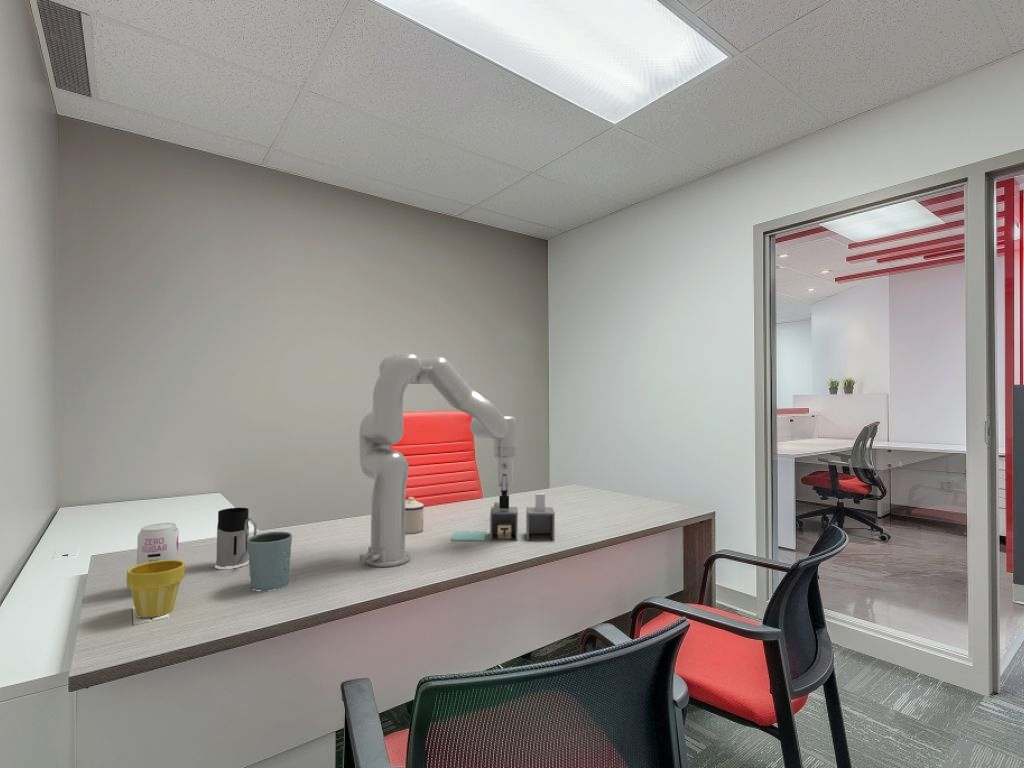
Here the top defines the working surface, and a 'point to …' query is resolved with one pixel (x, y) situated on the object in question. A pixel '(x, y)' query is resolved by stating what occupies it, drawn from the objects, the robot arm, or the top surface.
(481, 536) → the mat
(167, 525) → the supplement can
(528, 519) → the cover
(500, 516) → the cover
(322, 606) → the top surface
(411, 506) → the teacup with lid
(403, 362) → the robot arm
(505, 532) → the letter cube
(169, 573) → the plant pot
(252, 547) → the teal cup
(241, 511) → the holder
